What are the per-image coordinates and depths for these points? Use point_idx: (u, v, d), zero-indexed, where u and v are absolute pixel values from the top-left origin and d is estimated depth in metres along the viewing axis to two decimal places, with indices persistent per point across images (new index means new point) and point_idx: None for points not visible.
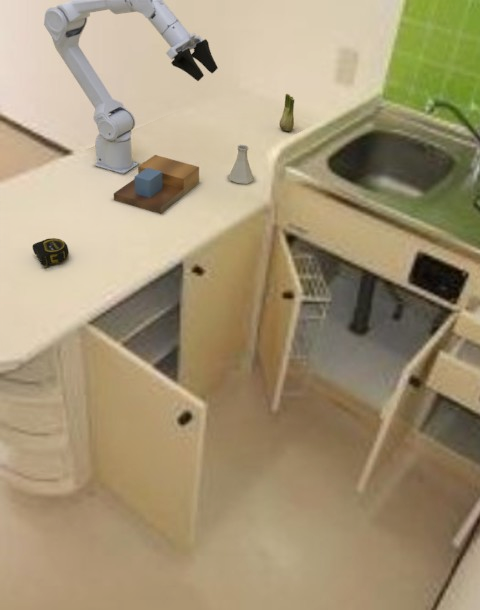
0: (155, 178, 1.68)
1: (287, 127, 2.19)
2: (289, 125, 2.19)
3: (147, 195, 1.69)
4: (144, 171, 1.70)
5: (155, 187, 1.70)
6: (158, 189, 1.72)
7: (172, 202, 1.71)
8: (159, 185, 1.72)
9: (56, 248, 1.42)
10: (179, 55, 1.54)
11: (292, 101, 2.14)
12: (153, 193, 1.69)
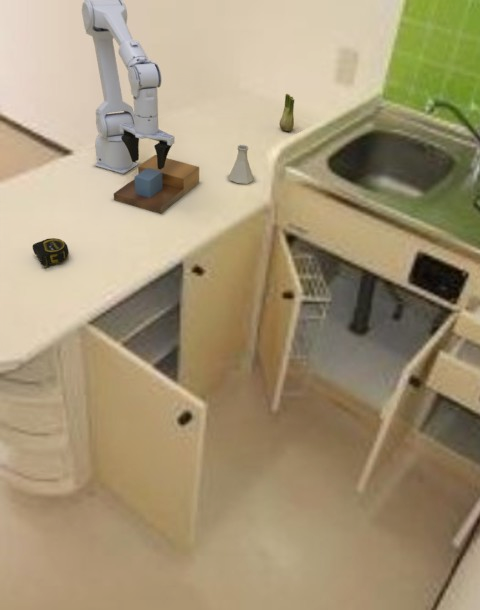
0: (155, 178, 1.68)
1: (287, 127, 2.19)
2: (289, 125, 2.19)
3: (147, 195, 1.69)
4: (144, 171, 1.70)
5: (155, 187, 1.70)
6: (158, 189, 1.72)
7: (172, 202, 1.71)
8: (159, 185, 1.72)
9: (56, 248, 1.42)
10: None
11: (292, 101, 2.14)
12: (153, 193, 1.69)
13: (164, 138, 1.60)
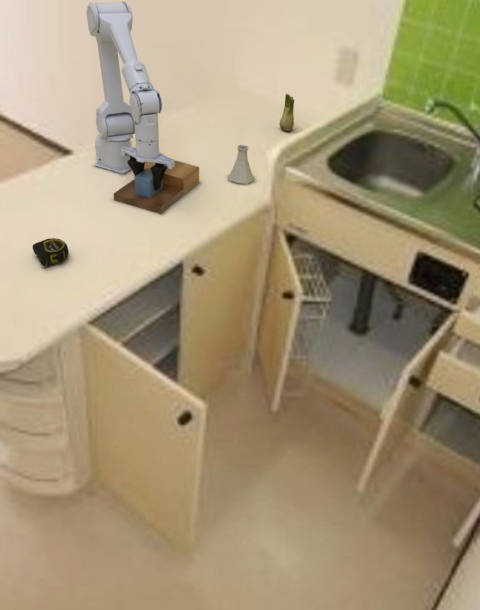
0: None
1: (287, 127, 2.19)
2: (289, 125, 2.19)
3: (148, 195, 1.69)
4: (144, 171, 1.70)
5: None
6: (158, 189, 1.72)
7: (172, 202, 1.71)
8: None
9: (56, 248, 1.42)
10: None
11: (292, 101, 2.14)
12: (153, 193, 1.69)
13: (164, 162, 1.63)
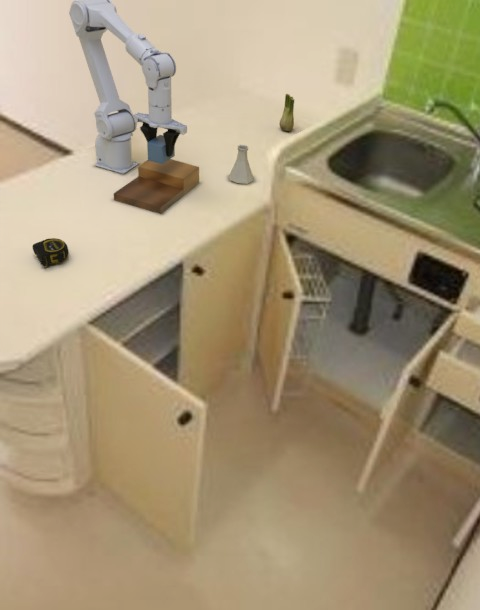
0: None
1: (287, 127, 2.19)
2: (289, 125, 2.19)
3: (160, 162, 1.70)
4: (156, 137, 1.71)
5: None
6: (170, 156, 1.73)
7: (172, 202, 1.71)
8: None
9: (56, 248, 1.42)
10: None
11: (292, 101, 2.14)
12: (165, 159, 1.70)
13: (177, 127, 1.65)
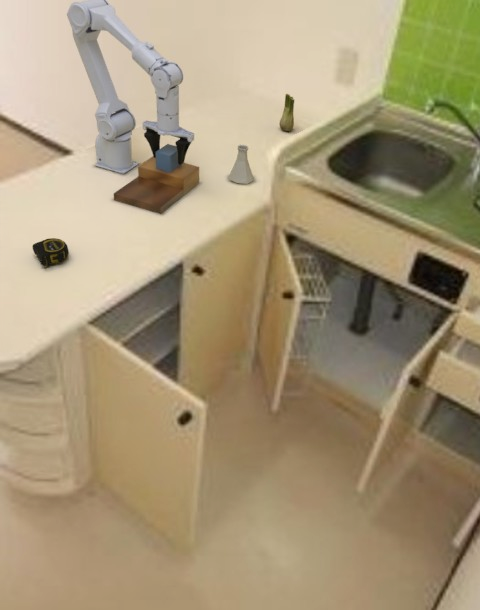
0: (175, 153, 1.75)
1: (287, 127, 2.19)
2: (289, 125, 2.19)
3: (168, 170, 1.75)
4: (164, 146, 1.76)
5: (175, 162, 1.76)
6: (178, 164, 1.78)
7: (172, 202, 1.71)
8: None
9: (56, 248, 1.42)
10: None
11: (292, 101, 2.14)
12: (173, 168, 1.76)
13: (185, 135, 1.70)
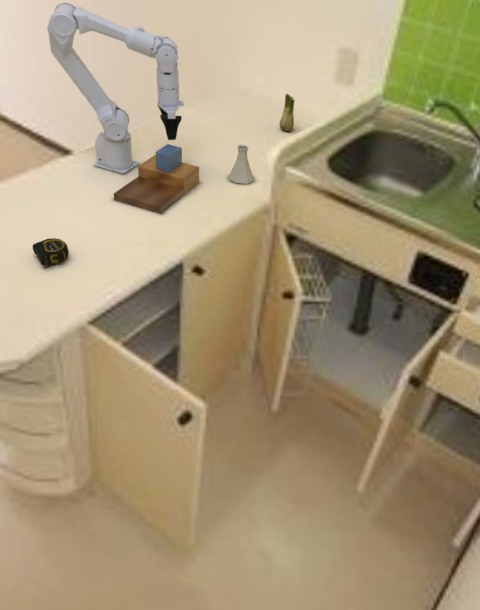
0: (175, 153, 1.75)
1: (287, 127, 2.19)
2: (289, 125, 2.19)
3: (168, 170, 1.75)
4: (164, 146, 1.76)
5: (175, 162, 1.76)
6: (178, 164, 1.78)
7: (172, 202, 1.71)
8: (179, 161, 1.78)
9: (56, 248, 1.42)
10: (174, 119, 1.74)
11: (292, 101, 2.14)
12: (173, 168, 1.76)
13: None
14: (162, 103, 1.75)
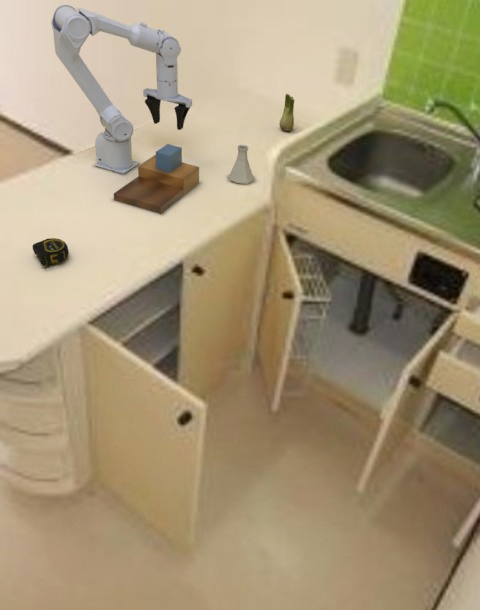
0: (175, 153, 1.75)
1: (287, 127, 2.19)
2: (289, 125, 2.19)
3: (168, 170, 1.75)
4: (164, 146, 1.76)
5: (175, 162, 1.76)
6: (178, 164, 1.78)
7: (172, 202, 1.71)
8: (179, 161, 1.78)
9: (56, 248, 1.42)
10: (188, 106, 1.82)
11: (292, 101, 2.14)
12: (173, 168, 1.76)
13: None
14: (170, 96, 1.79)
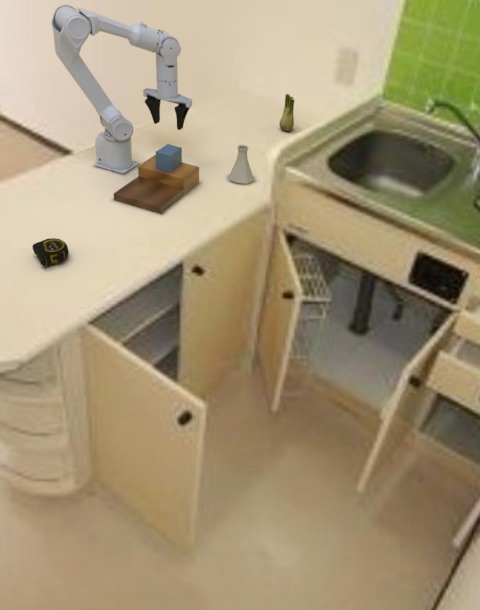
0: (175, 153, 1.75)
1: (287, 127, 2.19)
2: (289, 125, 2.19)
3: (168, 170, 1.75)
4: (164, 146, 1.76)
5: (175, 162, 1.76)
6: (178, 164, 1.78)
7: (172, 202, 1.71)
8: (179, 161, 1.78)
9: (56, 248, 1.42)
10: (188, 106, 1.82)
11: (292, 101, 2.14)
12: (173, 168, 1.76)
13: None
14: (170, 96, 1.79)
